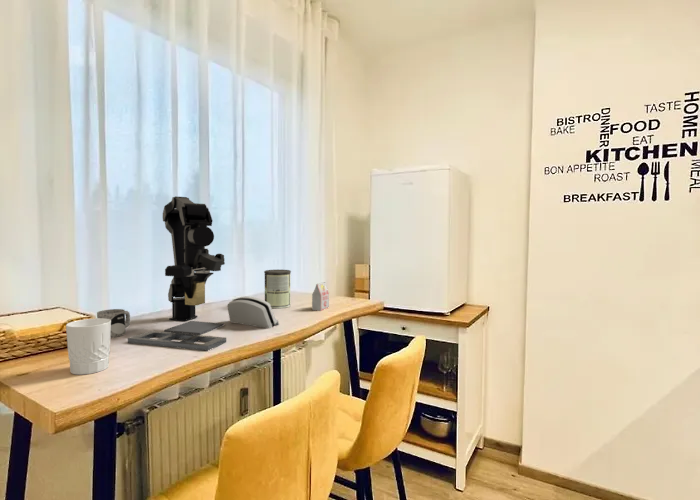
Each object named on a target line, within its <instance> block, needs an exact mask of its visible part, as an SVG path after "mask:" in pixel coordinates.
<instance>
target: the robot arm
mask: <svg viewBox="0 0 700 500" xmlns="http://www.w3.org/2000/svg"><path fill="white" fill-rule="evenodd" d="M162 221H163V222H164V226H165V229H166V231H168V232H169V233H170V236H171V245H172V253H173V261H174V264H173V265H167V266H166V267H165V269H164V276H165V277H172V279H171V282H170V285H169V289H168V294H167V296H168V297H167V298H168V301H169V302H170V303H171V304H172V305H171V307H172V308H171V310H172V315H171V316H172V317H169V318H168V320H170V321H179V322H180V321H182V322H185V321H186V322H188V321H189V320H190V321H191V320H193V319H195V318H198V315H196V305H185V293H186V295H187V297H188V298H190V299H191V298H192V296H193V284H194V281H197V282H205V284H206V283H207V281H208V279H209V278H210V277H211V276H212V275H214V272H219V271H220V272H221V271H222V270H221V268H222V266H224V265H225V264H226V263H225V255H224V254H222V253H216V254H215V255H214V254H210V253H209V252H210V250H209V248H205V247H208V246H210V245H211V244H213V241H214V239H215V234H214V232H213V230H212V229H211V228H210V227H212V225H213V222H214V221H213V218H212V214H211V212H210V210H209V207H207V204H206V203H195V202H194V201H192V200H190V198H189V197H186V196H172V198H171V201H169V202H168V203H167V204H165V205H164V206H163V210H162Z"/></svg>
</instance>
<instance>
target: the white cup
mask: <svg viewBox="0 0 700 500" xmlns="http://www.w3.org/2000/svg"><path fill="white" fill-rule="evenodd" d="M65 331H66V343H67V353H68V354H67V355H68V361H69V371H70V374H73V375H78V376H79V375H91V374H95V373H99V372H102V371H105V370H107V369H108V368H109V366H110V365H109V362H110V361H109V357H110V353H111V351H110V349H111V338H112V337H111V320H110V319H103V318H97V317H96V318H88V319H87V318H86V319H79V320H74V321H70V322H68V323H66V325H65Z"/></svg>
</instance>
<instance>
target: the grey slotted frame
mask: <svg viewBox="0 0 700 500" xmlns="http://www.w3.org/2000/svg"><path fill="white" fill-rule="evenodd" d="M154 338H156V339H154ZM176 340H180V341H176ZM197 342H205V343H197ZM129 343H130V344H137V345H148V346H154V347H155V346H156V347H157V346H158V347H168V348H175V349H184V348H185V349H187V350H194V351H195V350H196V351H204V350H205V351H204V352H208V350H209V351H211V350H212V348H213V349H215V348H217V347H219V346H222V345H223V344H226V343H227V337H226V336H225V337H224V336H213V335H211V336H210V335H204V334H201V335H194V334H182V333H171V332H164V331H157V330H156V331H155V330H149V331H146V332H142V333H140V334H137V335H134V336H131V337H128V338H127V344H129ZM210 349H211V350H210Z"/></svg>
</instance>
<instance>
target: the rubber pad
mask: <svg viewBox="0 0 700 500" xmlns="http://www.w3.org/2000/svg"><path fill="white" fill-rule="evenodd" d="M223 326H225V323H224V322H223V323H222V322H211V321H210V322H209V321H198V320H197V321H196V320H190V321H189V320H188V321H186V322H183V323H180V324H178V325H174V326H172V327H171V326H170V327H168V328H165V329H164V330H163V332H169V333H180V334H192V335H204V334H206V333H208V332H211V331H213V330H216V329H218V328H221V327H223Z"/></svg>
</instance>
